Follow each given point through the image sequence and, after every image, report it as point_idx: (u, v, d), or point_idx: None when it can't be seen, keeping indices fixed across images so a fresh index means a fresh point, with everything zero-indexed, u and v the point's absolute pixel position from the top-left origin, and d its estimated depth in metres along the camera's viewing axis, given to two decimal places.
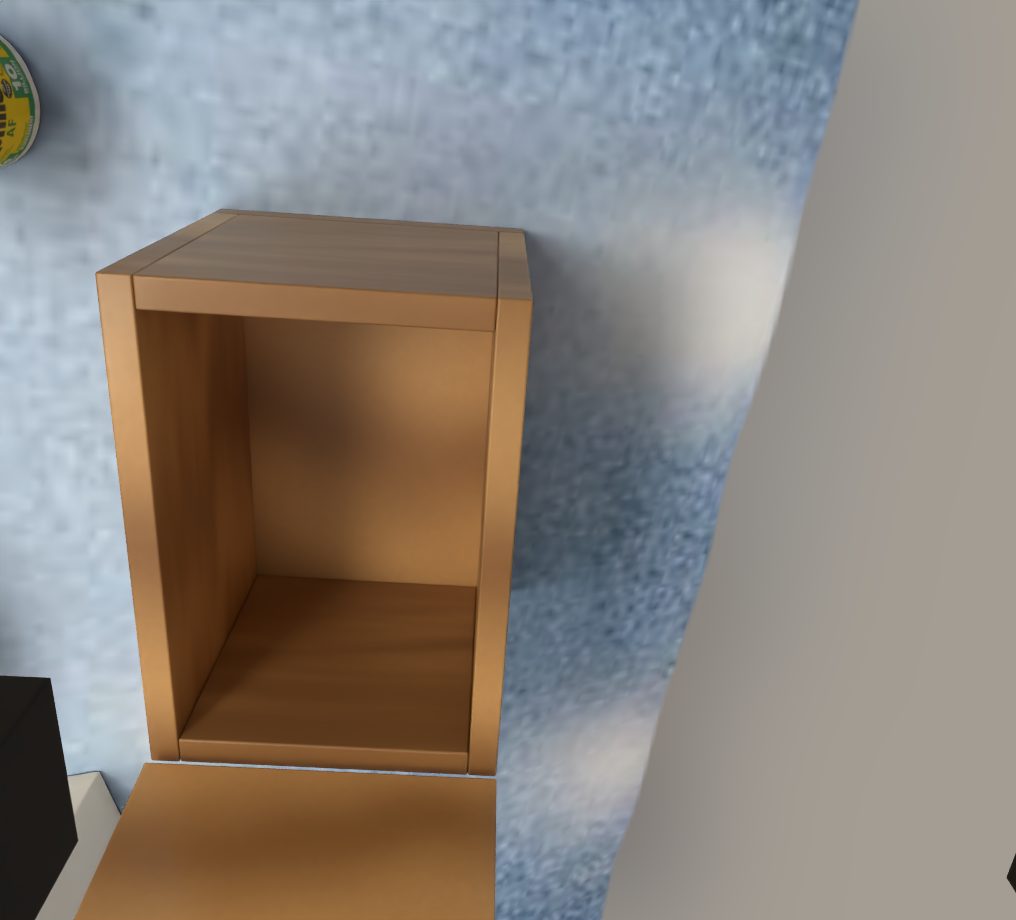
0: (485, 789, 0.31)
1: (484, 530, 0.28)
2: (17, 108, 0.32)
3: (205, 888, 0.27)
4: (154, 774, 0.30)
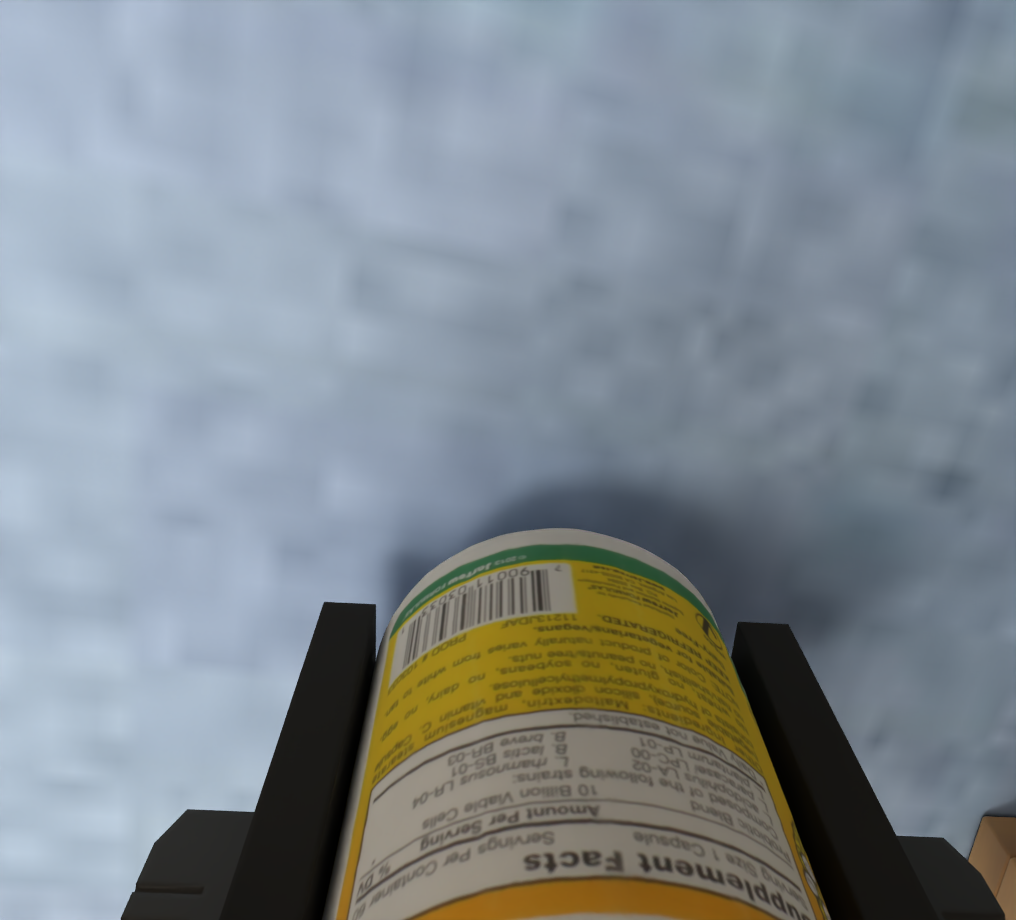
0: None
1: None
2: None
3: None
4: None
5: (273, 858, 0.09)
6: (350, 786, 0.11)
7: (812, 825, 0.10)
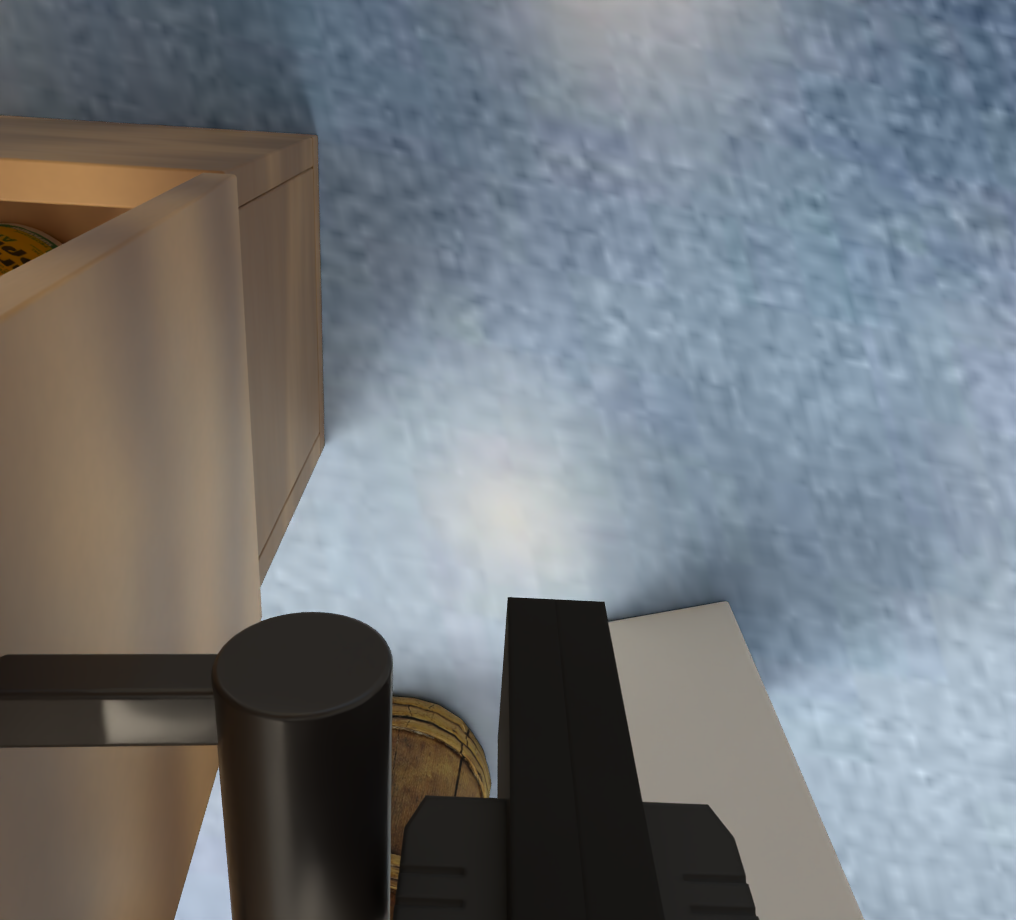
0: None
1: None
2: None
3: None
4: None
5: (542, 840, 0.09)
6: None
7: None
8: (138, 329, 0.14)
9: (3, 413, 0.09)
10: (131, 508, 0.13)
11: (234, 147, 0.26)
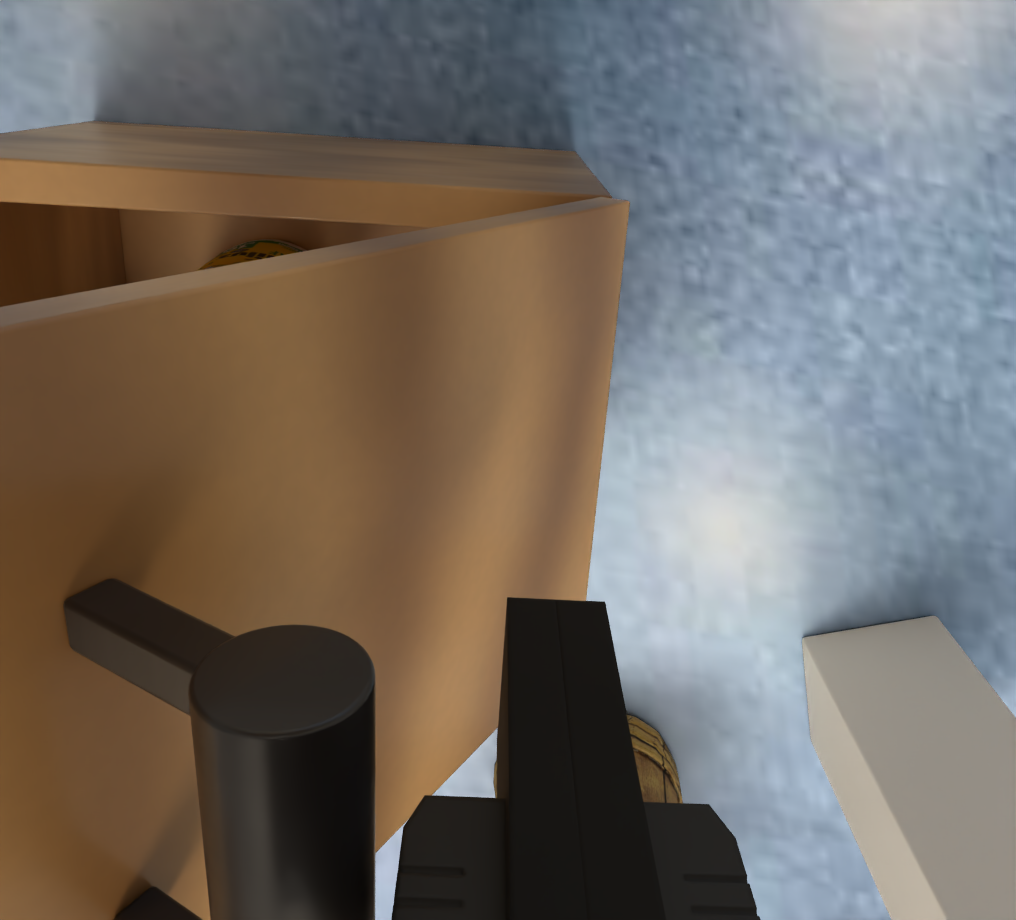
0: None
1: (197, 211, 0.21)
2: (262, 247, 0.30)
3: None
4: None
5: (541, 839, 0.09)
6: None
7: None
8: (404, 330, 0.14)
9: (159, 374, 0.11)
10: (355, 492, 0.14)
11: (548, 167, 0.26)
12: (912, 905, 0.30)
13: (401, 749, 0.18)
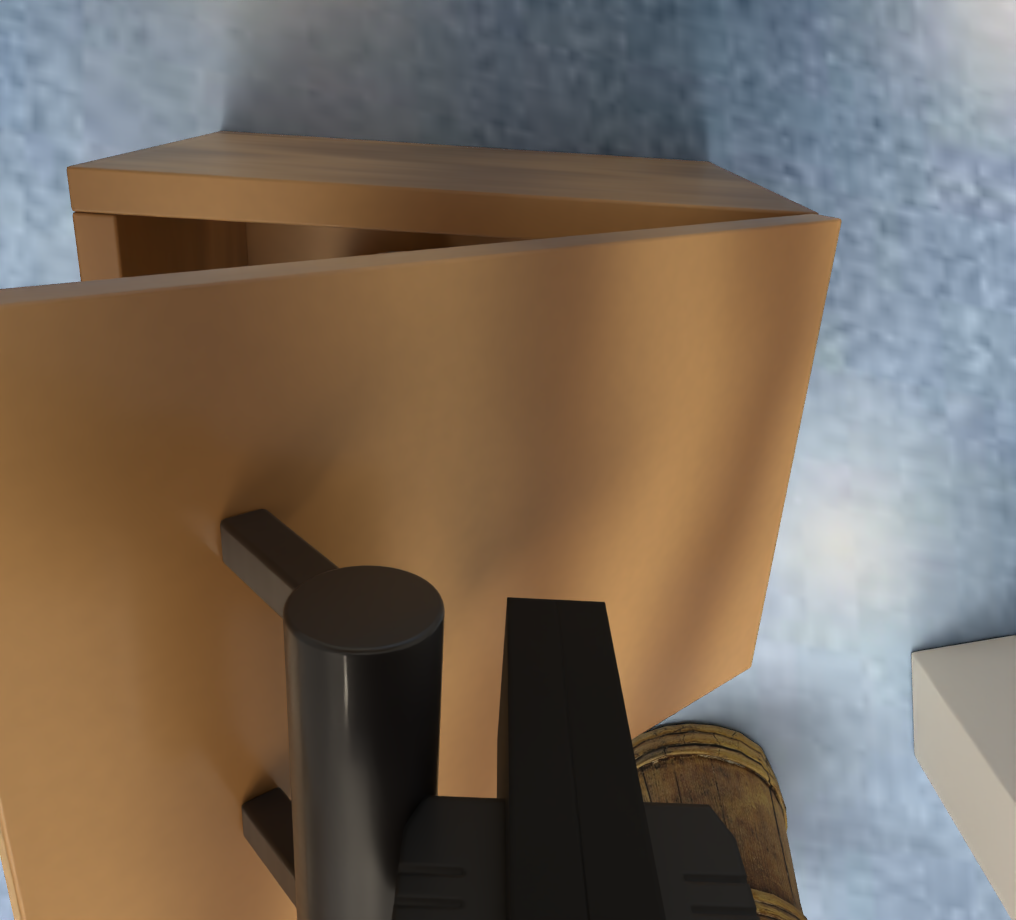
0: None
1: (392, 229, 0.21)
2: None
3: None
4: None
5: (542, 839, 0.09)
6: None
7: None
8: (565, 326, 0.15)
9: (320, 339, 0.12)
10: (502, 471, 0.15)
11: (713, 180, 0.26)
12: None
13: None
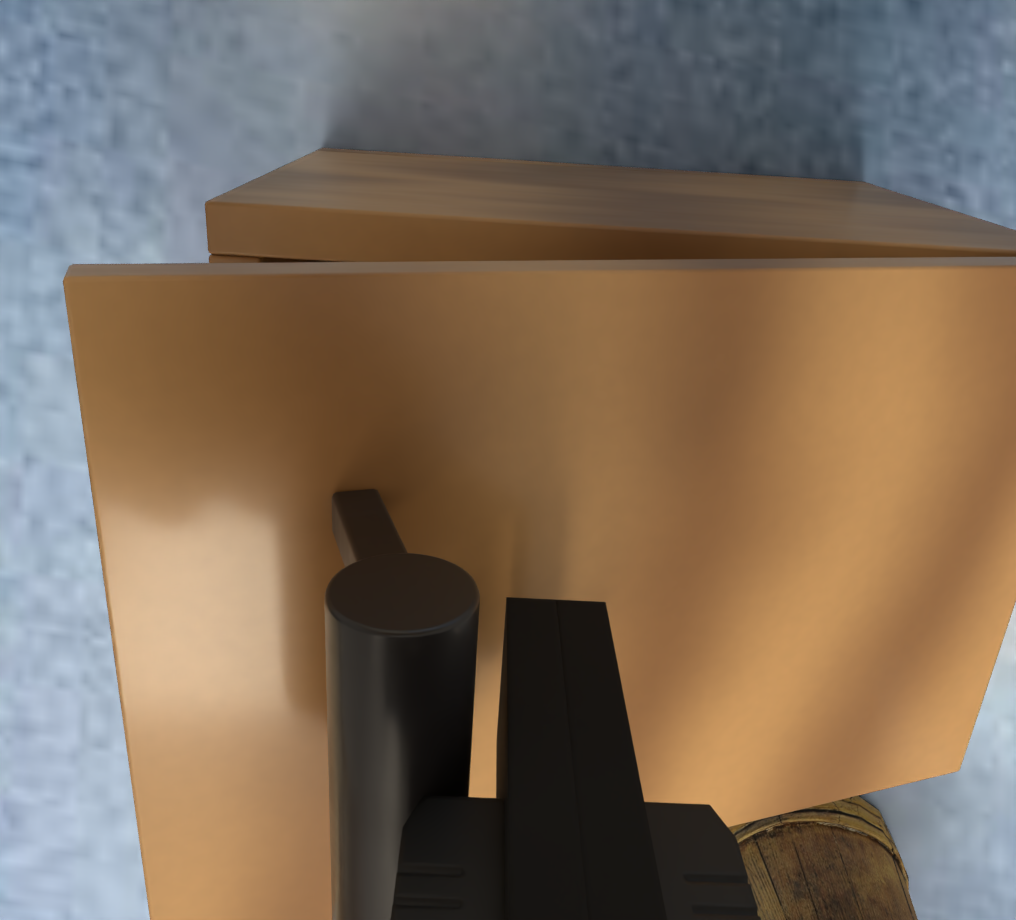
0: None
1: None
2: None
3: None
4: None
5: (541, 839, 0.09)
6: None
7: None
8: (724, 352, 0.14)
9: (443, 336, 0.13)
10: (638, 494, 0.15)
11: (910, 208, 0.22)
12: None
13: (661, 768, 0.18)
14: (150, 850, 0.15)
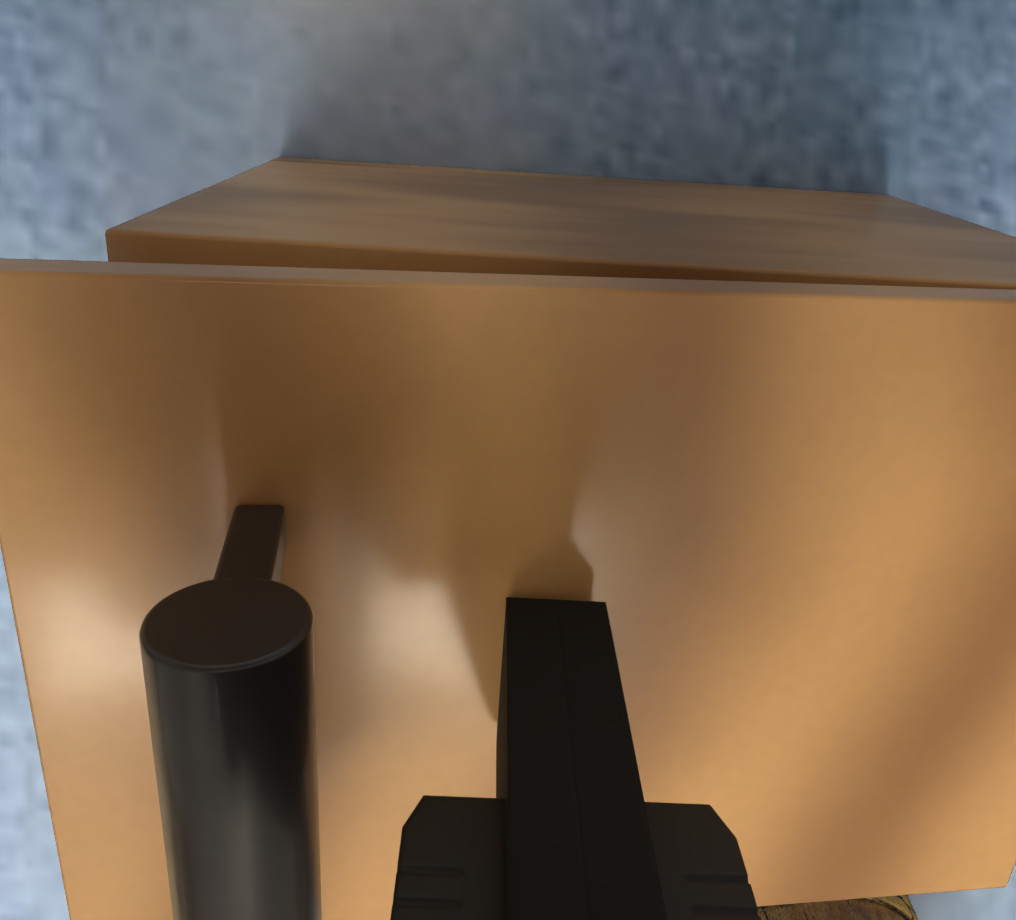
0: None
1: None
2: None
3: None
4: None
5: (540, 839, 0.09)
6: None
7: None
8: (685, 384, 0.13)
9: (350, 349, 0.12)
10: (585, 535, 0.14)
11: (949, 229, 0.19)
12: None
13: None
14: (64, 845, 0.15)
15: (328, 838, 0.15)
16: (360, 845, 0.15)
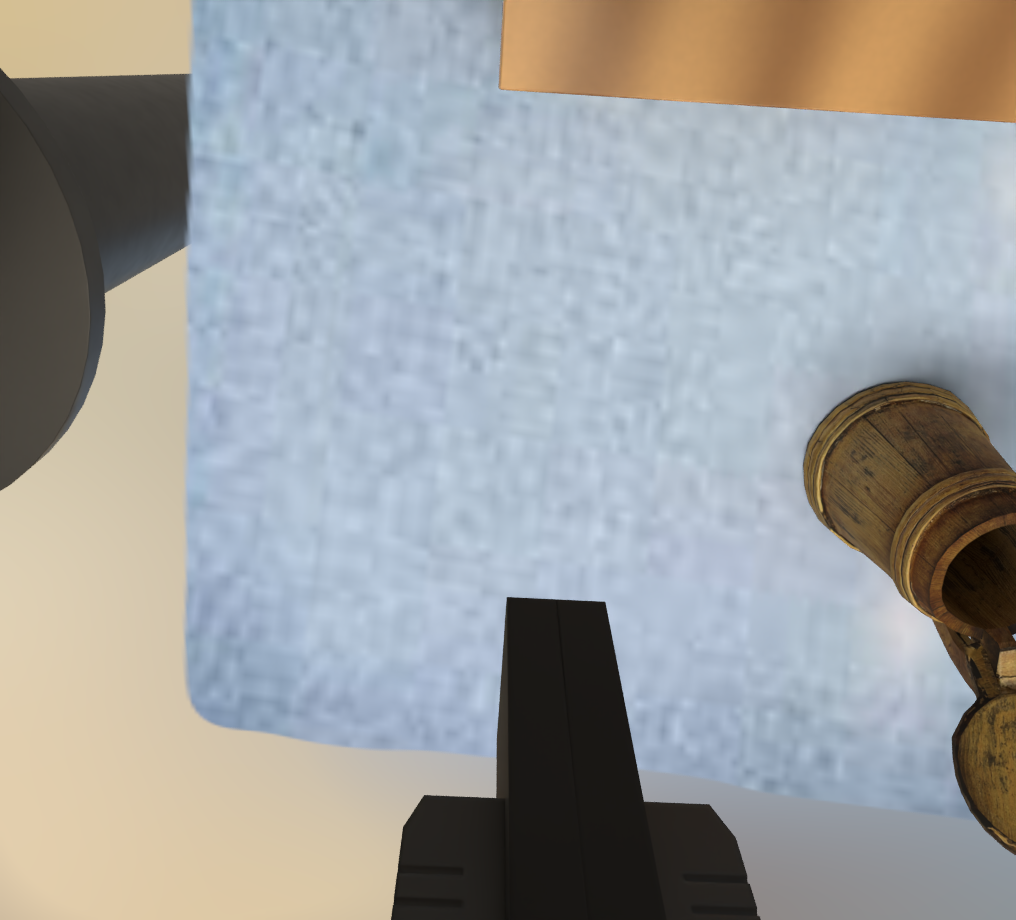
0: None
1: None
2: None
3: None
4: None
5: (541, 840, 0.09)
6: None
7: None
8: None
9: None
10: None
11: None
12: None
13: (833, 31, 0.26)
14: None
15: (656, 4, 0.26)
16: (674, 13, 0.26)
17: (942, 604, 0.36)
